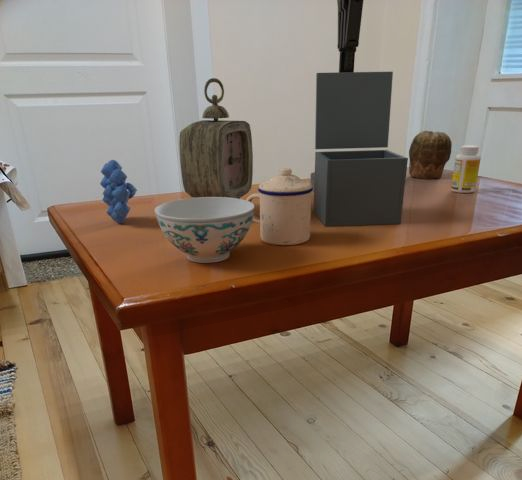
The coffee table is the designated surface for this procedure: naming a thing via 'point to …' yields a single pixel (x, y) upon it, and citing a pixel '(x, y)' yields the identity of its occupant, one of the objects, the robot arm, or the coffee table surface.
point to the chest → (359, 187)
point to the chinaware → (205, 225)
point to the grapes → (116, 191)
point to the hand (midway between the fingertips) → (345, 89)
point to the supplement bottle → (466, 170)
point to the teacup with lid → (284, 209)
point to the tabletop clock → (216, 153)
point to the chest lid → (353, 109)
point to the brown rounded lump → (429, 154)
